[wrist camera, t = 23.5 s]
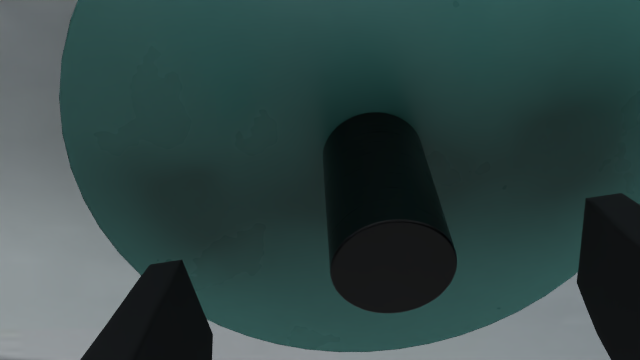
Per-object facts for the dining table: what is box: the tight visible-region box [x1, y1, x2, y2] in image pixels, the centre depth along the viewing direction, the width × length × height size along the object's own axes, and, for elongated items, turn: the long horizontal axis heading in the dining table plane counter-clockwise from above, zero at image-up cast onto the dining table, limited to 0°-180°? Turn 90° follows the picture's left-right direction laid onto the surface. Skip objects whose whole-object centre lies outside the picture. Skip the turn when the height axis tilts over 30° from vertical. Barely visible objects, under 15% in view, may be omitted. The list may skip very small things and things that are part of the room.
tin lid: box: [59, 0, 640, 352], centre depth 13 cm, size 15×15×5 cm
